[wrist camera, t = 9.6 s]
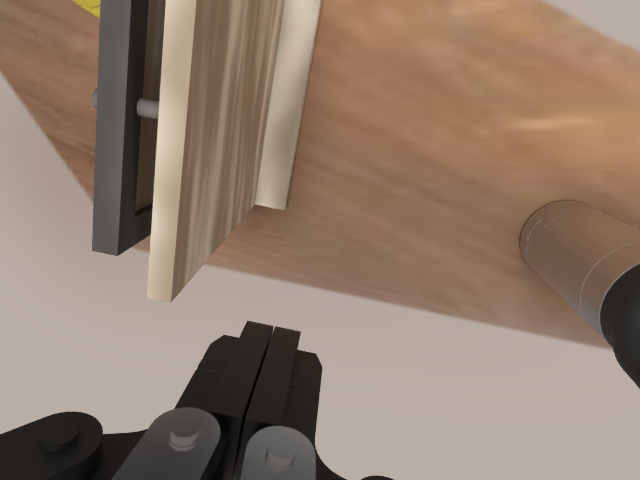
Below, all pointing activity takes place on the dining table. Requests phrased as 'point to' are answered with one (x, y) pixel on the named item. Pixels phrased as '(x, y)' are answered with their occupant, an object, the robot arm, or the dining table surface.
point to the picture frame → (126, 122)
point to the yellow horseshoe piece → (90, 6)
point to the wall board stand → (223, 124)
